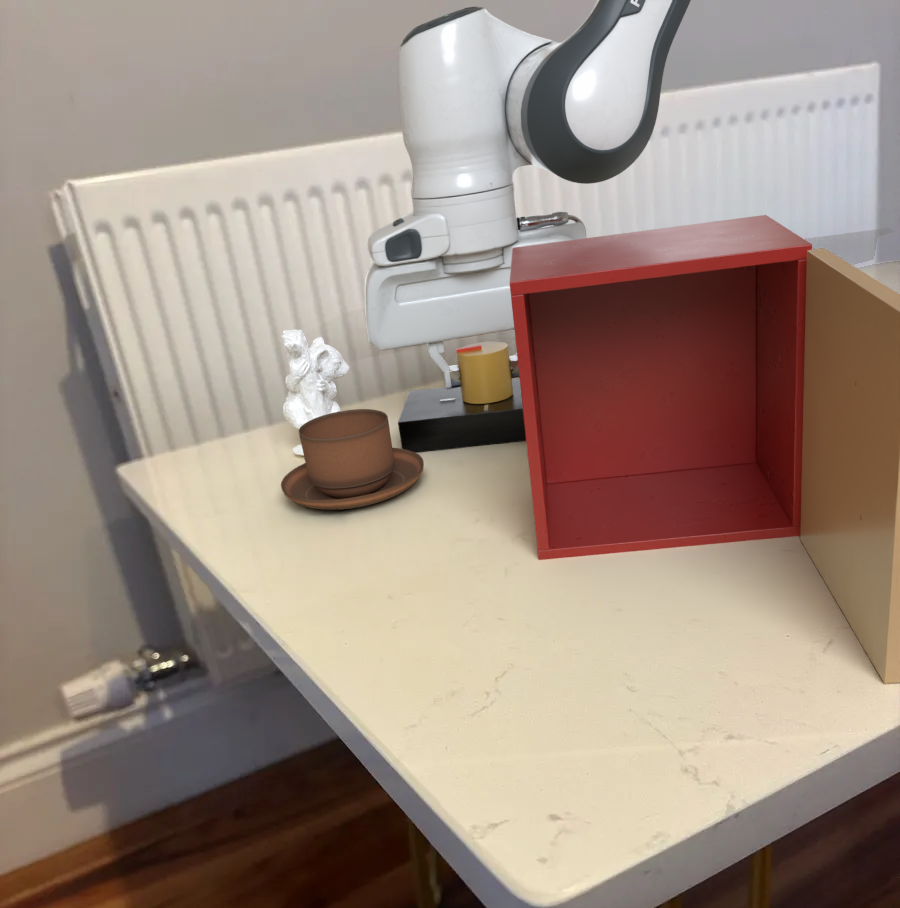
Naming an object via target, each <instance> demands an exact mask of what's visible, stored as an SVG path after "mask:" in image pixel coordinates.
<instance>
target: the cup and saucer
mask: <svg viewBox="0 0 900 908" xmlns="http://www.w3.org/2000/svg"><path fill="white" fill-rule="evenodd" d="M298 436H299V441H300V444H302V449H303V453H304V456H303V457H304V461H305V462H304V463H302V464H300V465H298V466H296V467H294V468H293V469H292V470H290V471H289V472H288V473H287V474H286V475H284V477H283V478H282V479H281V483H280V488H281V491H282V493H283V494H284V496H285V497H286V499H289V500H291V501H292V502H294V503H295V504H297V505H299V506H302V507H306V508H309V509H315V510H324V511H325V510H328V511H329V510H330V511H334V510H348V509H355V508H362V507H366V506H370V505H374V504H377V503H381V502H384V501H386V500H389V499H392V498H394V497H396V496H397V495H400V494H402V493H403V492H405V491H406V490H408V489H409V488H411V487H412V486H413V485H414V484H415V483H416V482H417V481H418V479H419V478H420V477H421V476H422V474H423V473H424V466H425V465H424V463H425V462H424V459H423V457H422V456H421V455H420V454H418V452H413V451H410V450H406V449H402V447H400V448H399V447H393V442H392V436H391V429H390V423H389V416H388V415H387V413H386V412H384V411H382V410H377V409H373V408H372V409H370V408H357V409H348V410H347V409H346V410H340V412H335V413H330V414H326V415H323V416H320V417H317V418H315V419H312V420H310V421H308V422H306V423H305V424H303V425H302V426H301V427H300V429H298Z"/></svg>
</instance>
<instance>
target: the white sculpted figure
mask: <svg viewBox="0 0 900 908" xmlns="http://www.w3.org/2000/svg"><path fill="white" fill-rule="evenodd" d="M281 333H282V334H281V335H280V338H281V341H282V345H283V347H284V350H285V352H284V353H285V356H286V358H287V361H288V365H289V372H288V374H287V375H286V377H285V386H286V388H287V389H288V391H287V396H285V402H284V403H283V405H282V415H283V416H284V418H285V419H286V420H287V422H288V424H289V425H291V426H292V427H293V428H295V429H297V430H299V429H300V427H301V426H302V425H303V424H305V423H306V422H308V421H310V420H312V419H315V418H317V417H320V416H323V415H326V414H330V413H335V412H340V411H341V407H340V405H339V403H338V402H337V401H335V400H333V399H335V398H336V396H337V394H338V389H337V386H336V384H335V382H334V379H341V378H343V377H345V375H348V373H349V372H350V369H351V368H350V365H349V364H348V363H347V362H346V360H344V357H343V356H342V354H341V353H340V351H338V350H337V349H336V348H335V347H333V346H331V345H329V344H327V343H326V344H325V339H323V337H321V336H317V337H316V338H315V339H313V340H312V341H311V344H310V343H309V341H308V339H307V338H306V335H305V332H304V331H303V329H283V330H282V332H281ZM309 344H310V346H309ZM292 453H293V454H295V455H297V456H303V457H304V453H303V449H302V444H301V443H300V444H297V445H296V446H294V447H293V448H292Z"/></svg>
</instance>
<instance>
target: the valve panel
mask: <svg viewBox="0 0 900 908" xmlns="http://www.w3.org/2000/svg"><path fill="white" fill-rule="evenodd" d="M512 386H513V395H512V396H510V397H509V398H507V399H504V400H501V401H498V402H493V403H486V404H471V403H466V402H464V401H463V400H462V393H461V387H457V388H451V389H446V388H445V386H443V387H433V388H425V389H416V390H409V391H408V393H407V396H406V399H405V402H404V405H403V408H402V411H401V413H400V416H399V419H398V421H397V424H398V432H399V438H400V445H401V449H406V450H410V451H413V452H415V453H422V452H432V451H442V450H450V449H462V448H469V447H471V448H472V447H478V446H480V447H481V446H489V445H498V444H507V443H516V442H526V435H525V425H524V416H523V406H522V397H521V387H520V378H513V379H512Z"/></svg>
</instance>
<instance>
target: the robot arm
mask: <svg viewBox="0 0 900 908" xmlns="http://www.w3.org/2000/svg"><path fill="white" fill-rule="evenodd" d="M691 1H692V0H596V1H595V3H594V6H593V7H592V8H591V11H590V13H589V14H588V16H587V18H586V19H585V20H584V21H583V23H581V25H580V26H579V27H578V28H577V29H576V30H575V31H574V32H573V33H572V34H570V35H569V36H568V37H567V38H566V39H564V40H563V41H561V42H558V41H554V40H552V39H549V38H545V37H541V36H537V35H535V34H532V33H529V32H526V31H524V30H521V29H519V28H516V27H515V26H512V25H510V24H508V23H506V22H504V21H502V20H501V19H500V18H498V17H496V16H494V15H493V14H491V13H490V12H489V11H488V10H487V8H485V7H483V6H482V7H481V6H469V7H464V8H462V9H458V10H455V11H453V12H450V13H447V14H445V15H442V16H439V17H436V18H434V19H432V20H429V21H426V22H423V23H422V24H419V25H417V26H415V27H414V28H413V29H411V30H410V31H409V32H408V33H407V34H406V36H405V37H404V38H403V40H402V42H401V44H399V45H400V46H399V48H398V53H397V58H396V60H397V61H396V83H397V84H396V85H397V99H398V108H399V117H400V123H401V124H400V125H401V133H402V134H401V135H402V140H403V144H404V147H405V149H406V153H407V154H408V157H409V161H410V164H411V165H410V166H411V173H412V177H411V186H410V197H411V203H412V211H411V212H409V213H407V214H405V215H403V216H402V217H399V218H398V219H395V220H393V221H392V222H389V223H388V224H386V225H384V226H382V227H380V228H378V229H376V230H374V231H372V232H371V233H370V235H369V236H368V237H367V241H366V242H367V243H366V246H367V251H368V255H369V258H370V260H371V261H372V263H371V264H370V265H369V266H368V268H367V271H366V274H365V279H364V311H365V313H364V314H365V325H366V330H367V333H366V334H367V339H368V342H369V344H370V345H371V346H372V347H373V348H375V349H376V350H377V351H380V352H385V351H391V350H397V349H401V348H410V347H415V346H421V345H426V349H427V352H428V355H429V356H430V357H431V359H432V360H433V361H434V363H435V364H436V365H437V367H438V368H439V369H440V370H441V372H442V377H443V382H444V383H443V384H444V387H445V388H446V389H451V388H457V387H462V384H461V380H460V369H459V367H458V364H452V365H449V364H448V362H447V361H446V360H445V359H444V357H443V356H442V355H441V354H444V353H445V345H444V342H446V341H453V340H457V339H464V338H470V337H475V336H477V337H478V336H482V335H488V334H495V333H501V332H506V331H507V332H508V331H513V330H514V321H513V311H512V302H511V292H510V271H511V259H512V248H515V247H522V246H530V245H538V244H546V243H553V242H561V241H569V240H576V239H584V238H587V229H586V227H585V224H584V222H583V221H582V220H581V219H580V218H579V217H578V216H576V215H573V214H569V213H568V211H567V210H566V211H565V210H559V211H554V212H551V213H547V214H546V213H545V214H533V215H526V216H520V217H518V213H517V212H518V211H517V202H516V192H515V183H514V181H515V180H514V173H515V171H516V170H517V169H518V168H520V167H524V166H525V167H526V166H533V167H537V168H538V169H541V170H545V171H548V172H551V173H553V174H554V175H556V176H557V177H559V178H561V179H563V180H565V181H567V182H570V183H576V184H582V185H583V184H584V185H585V184H586V185H587V184H588V185H589V184H597V183H602V182H605V181H607V180H610V179H613V178H615V177H616V176H619V175H620V174H621V173H623V172H625V171H626V170H627V169H628V168H629V167H631V166H632V165H633V164H634V163H635V161H636V160H638V158H639V157H640V156H641V154H642V153H643V152H644V150H645V149H646V147H647V145H648V144H649V141H650V140H651V137H652V135H653V132H654V129H655V126H656V122H657V118H658V113H659V109H660V108H659V107H660V99H661V92H662V85H663V84H662V83H663V77H664V72H665V67H666V62H667V59H668V55H669V52H670V50H671V47H672V44H673V42H674V39H675V37H676V35H677V32H678V30H679V28H680V26H681V24H682V22H683V19H684V17H685V14H686V12H687V11H688V7H689V6H690V3H691ZM569 221H573V222H569ZM514 331H515V330H514ZM509 358H510V367H511V377H512V379H520V378H519V368H518V359H517V352H516V353H515V354H513V355H509Z"/></svg>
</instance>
